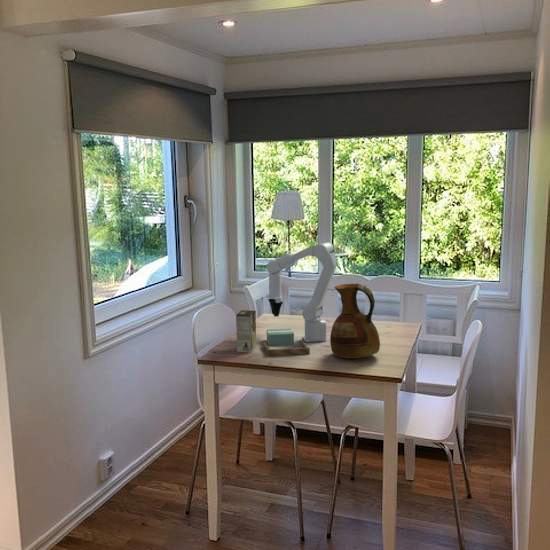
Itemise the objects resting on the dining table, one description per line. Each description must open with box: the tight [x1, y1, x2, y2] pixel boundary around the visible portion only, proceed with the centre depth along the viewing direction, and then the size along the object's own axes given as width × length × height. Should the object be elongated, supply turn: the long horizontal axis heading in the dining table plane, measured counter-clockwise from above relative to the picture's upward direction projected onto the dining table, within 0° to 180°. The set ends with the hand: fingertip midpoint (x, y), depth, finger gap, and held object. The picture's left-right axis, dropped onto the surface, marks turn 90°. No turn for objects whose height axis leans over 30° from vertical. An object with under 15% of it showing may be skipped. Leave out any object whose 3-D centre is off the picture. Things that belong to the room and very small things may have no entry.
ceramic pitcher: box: [329, 283, 381, 359], centre depth 239 cm, size 20×20×30 cm
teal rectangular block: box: [266, 328, 295, 346], centre depth 263 cm, size 11×9×5 cm
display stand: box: [262, 339, 311, 357], centre depth 250 cm, size 17×14×2 cm
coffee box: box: [235, 309, 257, 354], centre depth 251 cm, size 9×6×16 cm
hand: (275, 315), depth 274 cm, fingers open, 4 cm apart
